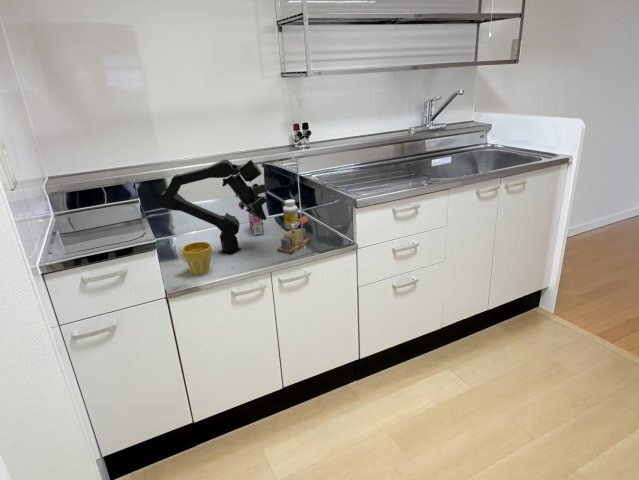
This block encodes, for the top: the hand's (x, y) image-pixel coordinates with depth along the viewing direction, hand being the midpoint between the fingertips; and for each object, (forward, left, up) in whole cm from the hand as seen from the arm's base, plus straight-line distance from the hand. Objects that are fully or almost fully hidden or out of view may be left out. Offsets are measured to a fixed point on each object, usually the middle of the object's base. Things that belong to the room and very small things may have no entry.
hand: (264, 219), depth 166 cm
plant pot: (-10, -28, -13) cm, 32 cm away
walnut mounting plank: (+10, +6, -12) cm, 17 cm away
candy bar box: (-16, +14, -13) cm, 25 cm away
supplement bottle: (-4, +25, -13) cm, 28 cm away
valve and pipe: (+10, +6, -11) cm, 16 cm away
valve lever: (+10, +10, -4) cm, 15 cm away
